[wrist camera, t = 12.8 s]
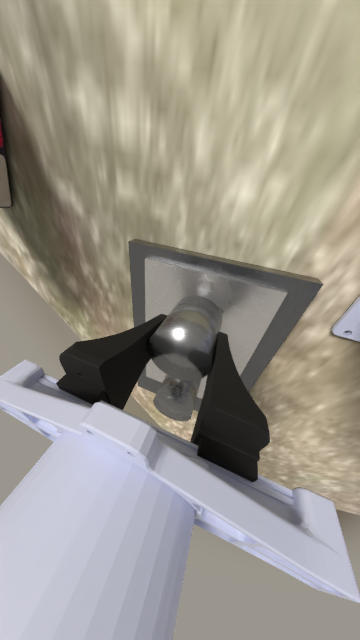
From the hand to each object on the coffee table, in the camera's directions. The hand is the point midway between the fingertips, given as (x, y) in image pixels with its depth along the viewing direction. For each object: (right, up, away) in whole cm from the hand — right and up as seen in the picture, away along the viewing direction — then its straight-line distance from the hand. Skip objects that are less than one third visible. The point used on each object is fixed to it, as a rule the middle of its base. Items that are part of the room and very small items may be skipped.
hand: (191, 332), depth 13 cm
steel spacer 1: (+1, +1, +1) cm, 2 cm away
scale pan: (+1, -2, +6) cm, 6 cm away
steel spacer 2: (0, -6, +8) cm, 10 cm away
